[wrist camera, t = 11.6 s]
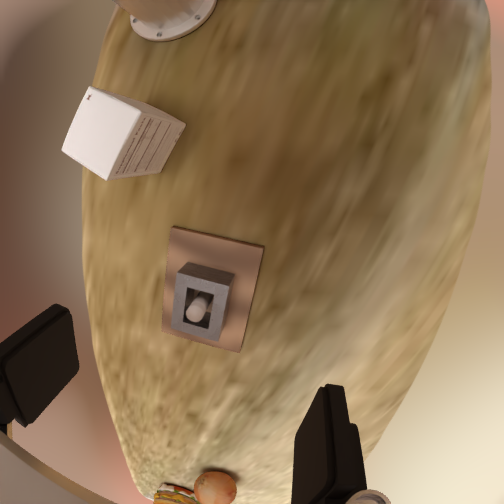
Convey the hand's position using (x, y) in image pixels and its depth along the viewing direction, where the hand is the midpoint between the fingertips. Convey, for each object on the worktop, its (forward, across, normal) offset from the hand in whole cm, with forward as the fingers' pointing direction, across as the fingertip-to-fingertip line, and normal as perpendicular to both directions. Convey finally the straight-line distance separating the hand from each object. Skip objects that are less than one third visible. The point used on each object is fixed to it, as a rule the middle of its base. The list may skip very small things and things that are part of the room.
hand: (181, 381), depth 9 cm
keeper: (+28, +5, +11) cm, 31 cm away
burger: (+29, +6, +79) cm, 84 cm away
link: (+27, +5, +11) cm, 30 cm away
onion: (+28, -3, +59) cm, 66 cm away
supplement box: (+28, +16, -8) cm, 34 cm away
